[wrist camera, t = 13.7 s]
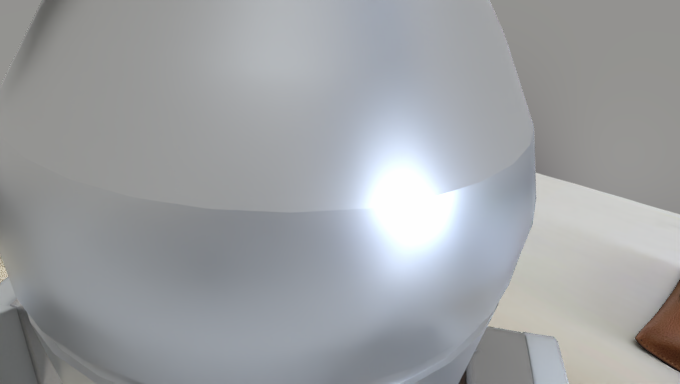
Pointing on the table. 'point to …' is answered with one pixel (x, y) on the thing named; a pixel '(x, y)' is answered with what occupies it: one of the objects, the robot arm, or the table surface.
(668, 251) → the table surface
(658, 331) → the sunglasses case
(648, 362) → the table surface
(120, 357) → the plastic bottle
